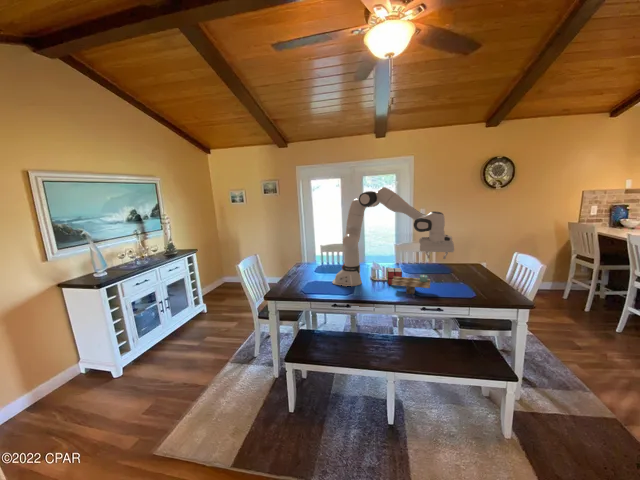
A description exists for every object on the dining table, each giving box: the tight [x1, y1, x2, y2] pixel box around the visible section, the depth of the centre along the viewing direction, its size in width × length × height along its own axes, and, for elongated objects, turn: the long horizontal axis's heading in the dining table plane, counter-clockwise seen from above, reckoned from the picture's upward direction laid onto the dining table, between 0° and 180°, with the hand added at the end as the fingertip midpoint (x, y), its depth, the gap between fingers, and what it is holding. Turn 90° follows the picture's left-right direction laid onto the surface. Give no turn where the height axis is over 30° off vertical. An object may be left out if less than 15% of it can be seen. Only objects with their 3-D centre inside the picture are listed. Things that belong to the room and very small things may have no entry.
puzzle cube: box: [386, 267, 403, 286], centre depth 203 cm, size 10×10×10 cm
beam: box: [391, 276, 431, 295], centre depth 183 cm, size 24×9×9 cm, turn 67°
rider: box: [419, 274, 428, 282], centre depth 179 cm, size 4×5×5 cm
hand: (436, 258), depth 174 cm, fingers open, 8 cm apart
